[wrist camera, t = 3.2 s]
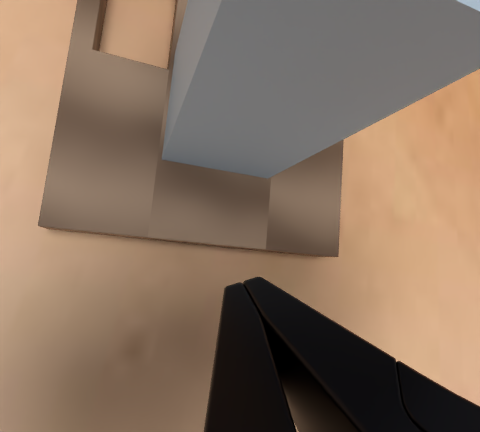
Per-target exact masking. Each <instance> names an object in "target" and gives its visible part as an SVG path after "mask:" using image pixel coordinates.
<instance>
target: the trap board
mask: <svg viewBox="0 0 480 432" xmlns="http://www.w3.org/2000/svg"><path fill="white" fill-rule="evenodd" d="M187 2H188V0H176V5H175V13H174V21H173V29H172V36H171V44H170V52H169V60H168V68H167V69H164V68H160V67H156V66H153V65H149V64H145V63H141V62H138V61H134V60H130V59H126V58H123V57H119V56H115V55H111V54H108V53H104V52H100V51H99V47H100V41H101V35H102V28H103V22H104V16H105V10H106V4H107V0H77V6H76V12H75V17H74V23H73V29H72V34H71V40H70V46H69V51H68V57H67V63H66V68H65V74H64V80H63V85H62V91H61V97H60V103H59V108H58V114H57V120H56V125H55V131H54V137H53V142H52V148H51V154H50V159H49V165H48V171H47V176H46V182H45V188H44V194H43V199H42V205H41V211H40V216H39V222H38V226H40V227H44V228H47V229H55V230H65V231H75V232H84V233H94V234H104V235H114V236H124V237H133V238H143V239H153V240H163V241H173V242H182V243H192V244H202V245H212V246H222V247H231V248H241V249H251V250H261V251H271V252H280V253H290V254H300V255H310V256H320V257H338V252H339V229H340V207H341V184H342V161H343V140H341V141H339V142H337V143H335V144H333V145H332V146H330V147H328V148H326V149H324V150H322V151H320V152H318V153H316V154H314V155H312V156H310V157H308V158H307V159H305V160H303V161H301V162H299V163H297V164H295V165H293V166H291V167H289V168H287V169H285V170H283V171H281V172H280V173H278V174H276V175H274V176H272V177H270V178H262V177H256V176H251V175H245V174H240V173H234V172H229V171H223V170H217V169H212V168H206V167H201V166H195V165H190V164H184V163H178V162H173V161H167V160H162V153H163V145H164V137H165V129H166V121H167V113H168V105H169V97H170V89H171V81H172V73H173V65H174V57H175V51H176V47H177V43H178V39H179V35H180V31H181V26H182V22H183V18H184V14H185V10H186V6H187Z"/></svg>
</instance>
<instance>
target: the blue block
mask: <svg viewBox="0 0 480 432" xmlns="http://www.w3.org/2000/svg"><path fill="white" fill-rule="evenodd" d="M478 69H480V0H188V2H187V6H186V10H185V14H184V18H183V22H182V26H181V31H180V35H179V39H178V43H177V47H176V51H175V57H174V65H173V73H172V81H171V89H170V97H169V105H168V113H167V121H166V129H165V137H164V145H163V153H162V160H167V161H173V162H178V163H184V164H190V165H195V166H201V167H206V168H212V169H217V170H223V171H229V172H234V173H240V174H245V175H251V176H256V177H262V178H270V177H272V176H274V175H276V174H278V173H280V172H281V171H283V170H285V169H287V168H289V167H291V166H293V165H295V164H297V163H299V162H301V161H303V160H305V159H307V158H308V157H310V156H312V155H314V154H316V153H318V152H320V151H322V150H324V149H326V148H328V147H330V146H332V145H333V144H335V143H337V142H339V141H341V140H343V139H345V138H347V137H349V136H351V135H353V134H355V133H357V132H358V131H360V130H362V129H364V128H366V127H368V126H370V125H372V124H374V123H376V122H378V121H380V120H382V119H384V118H385V117H387V116H389V115H391V114H393V113H395V112H397V111H399V110H401V109H403V108H405V107H407V106H409V105H410V104H412V103H414V102H416V101H418V100H420V99H422V98H424V97H426V96H428V95H430V94H432V93H434V92H436V91H437V90H439V89H441V88H443V87H445V86H447V85H449V84H451V83H453V82H455V81H457V80H459V79H461V78H462V77H464V76H466V75H468V74H470V73H472V72H474V71H476V70H478Z"/></svg>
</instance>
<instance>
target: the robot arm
mask: <svg viewBox="0 0 480 432" xmlns="http://www.w3.org/2000/svg"><path fill="white" fill-rule="evenodd" d="M293 421H294V422H293ZM294 423H295V425H296V427H297V429H298V431H299V432H480V406H478V405H476V404H474V403H472V402H470V401H468V400H466V399H465V398H463V397H461V396H459V395H457V394H455V393H453V392H452V391H450V390H448V389H446V388H445V387H443V386H441V385H439V384H438V383H436V382H434V381H433V380H431V379H429V378H427V377H426V376H424V375H422V374H420V373H419V372H417V371H415V370H414V369H412V368H410V367H409V366H407V365H406V364H404V363H402V362H401V361H397V362H396V359H395V358H394V357H392V356H390V355H389V354H387V353H385V352H384V351H382V350H380V349H379V348H377V347H376V346H374V345H372V344H371V343H369V342H367V341H366V340H364V339H362V338H361V337H359V336H357V335H356V334H354V333H352V332H351V331H349V330H347V329H346V328H344V327H343V326H341V325H339V324H338V323H336V322H334V321H333V320H331V319H329V318H328V317H326V316H324V315H323V314H321V313H319V312H318V311H316V310H314V309H313V308H311V307H310V306H308V305H306V304H305V303H303V302H301V301H300V300H298V299H296V298H295V297H293V296H291V295H290V294H288V293H286V292H285V291H283V290H281V289H280V288H278V287H277V286H275V285H273V284H272V283H270V282H268V281H267V280H265V279H263V278H262V277H255V278H252V279H249V280H246V281H244V282H243V284H242V283H236V284H233V285H230V286H227V287H225V289H224V294H223V301H222V308H221V315H220V322H219V329H218V336H217V343H216V350H215V357H214V364H213V371H212V378H211V385H210V392H209V399H208V406H207V413H206V420H205V427H204V432H297V431H296V428H295V425H294Z"/></svg>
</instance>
